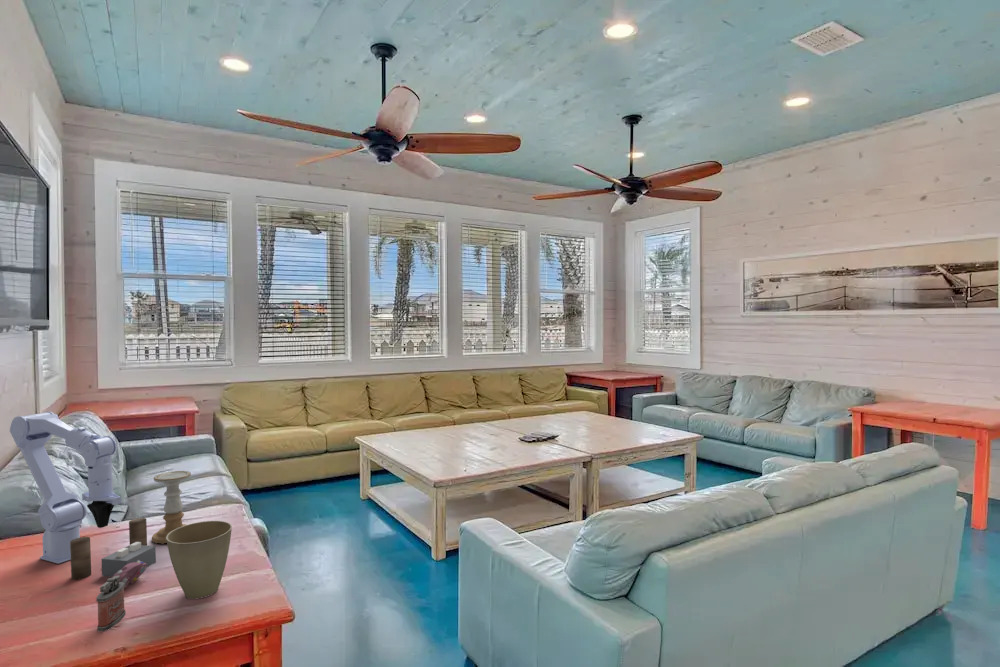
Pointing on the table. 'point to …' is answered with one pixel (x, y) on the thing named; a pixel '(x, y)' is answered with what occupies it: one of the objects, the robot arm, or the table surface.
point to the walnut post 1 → (80, 558)
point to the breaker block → (128, 558)
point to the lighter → (110, 603)
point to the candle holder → (171, 503)
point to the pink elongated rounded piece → (131, 572)
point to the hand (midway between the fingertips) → (102, 526)
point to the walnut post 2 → (138, 531)
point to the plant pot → (199, 556)
